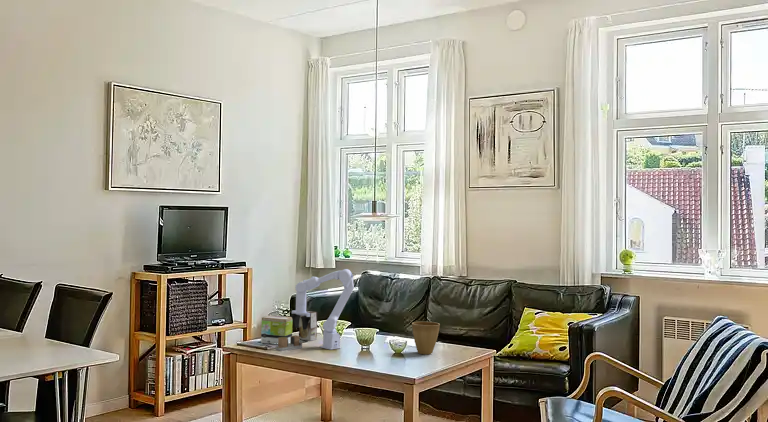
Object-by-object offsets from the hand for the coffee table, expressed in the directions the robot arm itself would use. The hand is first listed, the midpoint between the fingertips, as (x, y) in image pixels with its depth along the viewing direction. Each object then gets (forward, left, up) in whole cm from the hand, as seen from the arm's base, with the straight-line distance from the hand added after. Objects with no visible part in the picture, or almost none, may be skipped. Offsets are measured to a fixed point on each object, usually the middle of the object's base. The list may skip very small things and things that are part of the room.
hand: (300, 328), depth 385 cm
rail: (-2, +9, -10) cm, 14 cm away
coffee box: (+16, -17, -10) cm, 25 cm away
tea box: (+17, +4, -10) cm, 20 cm away
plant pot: (-55, -42, -10) cm, 70 cm away
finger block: (-2, +5, -8) cm, 10 cm away
